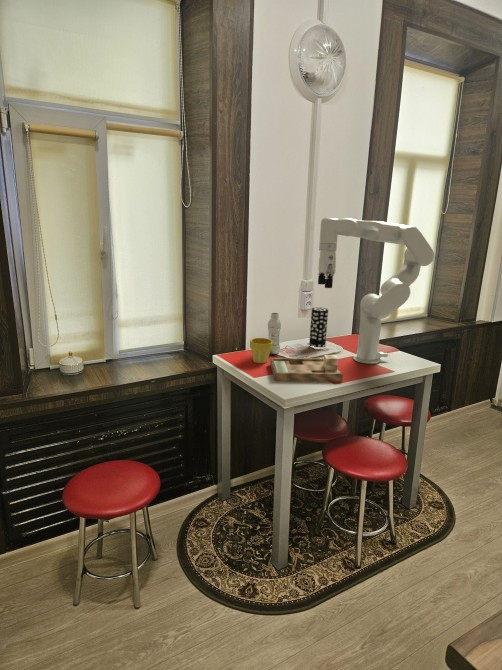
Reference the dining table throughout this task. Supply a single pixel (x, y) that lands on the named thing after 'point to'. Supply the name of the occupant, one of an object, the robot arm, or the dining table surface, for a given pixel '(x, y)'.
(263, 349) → the plant pot
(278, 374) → the box
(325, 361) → the block
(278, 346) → the plastic bottle
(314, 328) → the spotted tube
